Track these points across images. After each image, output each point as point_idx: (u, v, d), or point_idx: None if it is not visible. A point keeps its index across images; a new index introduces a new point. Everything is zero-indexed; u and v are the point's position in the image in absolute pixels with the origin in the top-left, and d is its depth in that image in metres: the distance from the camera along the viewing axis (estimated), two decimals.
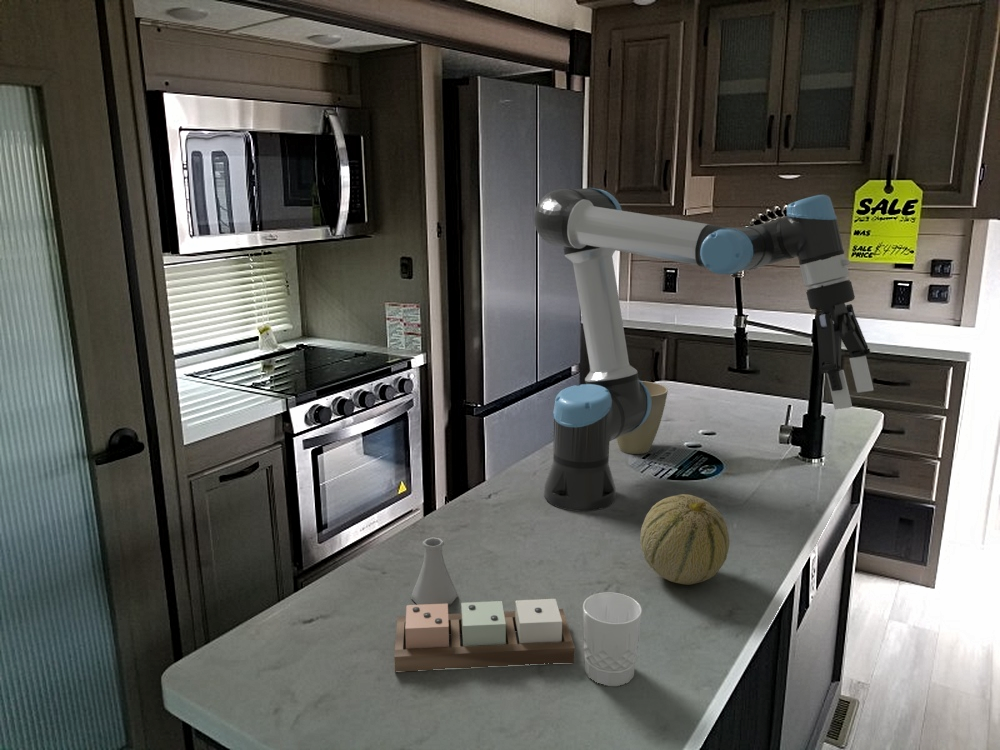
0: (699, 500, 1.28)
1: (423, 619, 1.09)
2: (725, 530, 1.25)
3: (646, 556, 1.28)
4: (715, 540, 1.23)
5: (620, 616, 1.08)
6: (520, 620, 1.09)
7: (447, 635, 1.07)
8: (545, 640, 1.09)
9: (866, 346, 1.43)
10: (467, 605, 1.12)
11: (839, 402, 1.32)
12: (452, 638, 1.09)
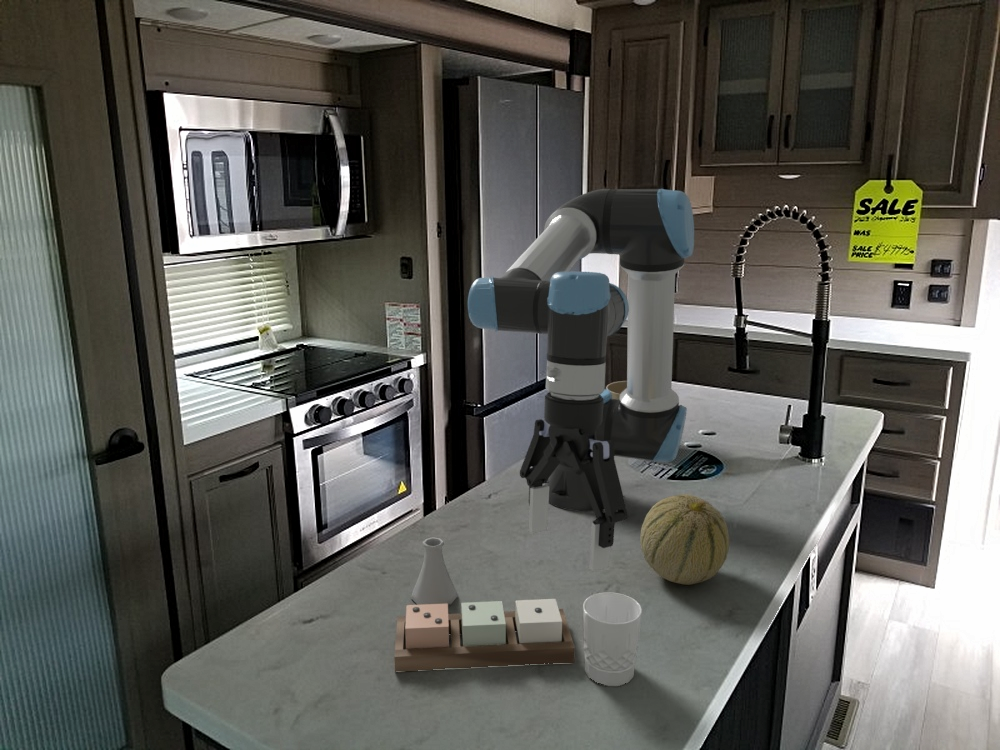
0: (699, 500, 1.28)
1: (423, 619, 1.09)
2: (725, 530, 1.25)
3: (646, 556, 1.28)
4: (715, 540, 1.23)
5: (620, 616, 1.08)
6: (520, 620, 1.09)
7: (447, 635, 1.07)
8: (545, 640, 1.09)
9: (607, 517, 0.93)
10: (467, 605, 1.12)
11: None
12: (452, 638, 1.09)
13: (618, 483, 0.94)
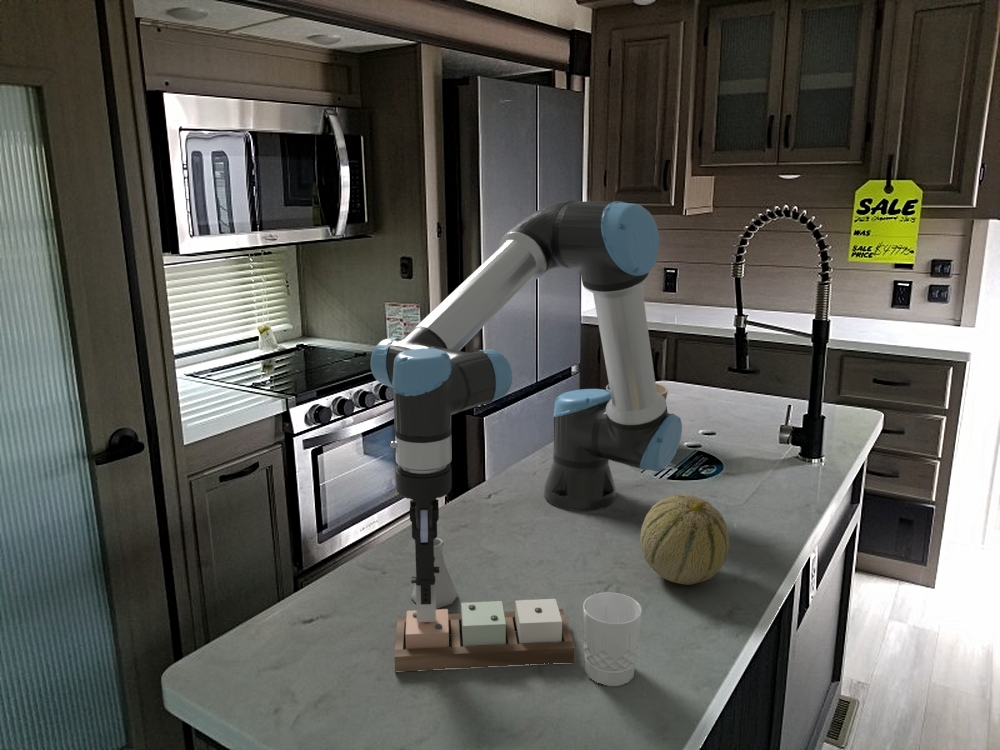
0: (699, 500, 1.28)
1: (423, 625, 1.09)
2: (725, 530, 1.25)
3: (646, 556, 1.28)
4: (715, 540, 1.23)
5: (620, 616, 1.08)
6: (520, 620, 1.09)
7: (447, 641, 1.08)
8: (545, 640, 1.09)
9: (416, 578, 1.05)
10: (467, 605, 1.12)
11: None
12: (452, 638, 1.09)
13: (432, 561, 1.03)
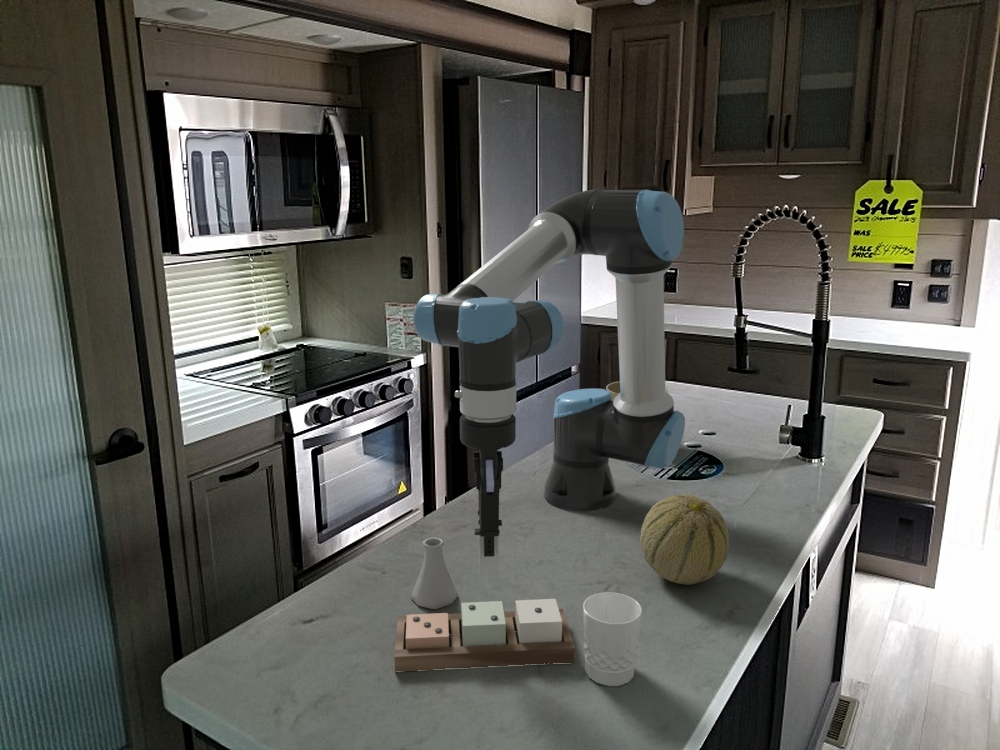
0: (699, 500, 1.28)
1: (423, 629, 1.09)
2: (725, 530, 1.25)
3: (646, 556, 1.28)
4: (715, 540, 1.23)
5: (620, 616, 1.08)
6: (520, 620, 1.09)
7: (447, 645, 1.08)
8: (545, 640, 1.09)
9: (480, 529, 1.04)
10: (467, 605, 1.12)
11: None
12: (452, 638, 1.09)
13: (497, 511, 1.02)
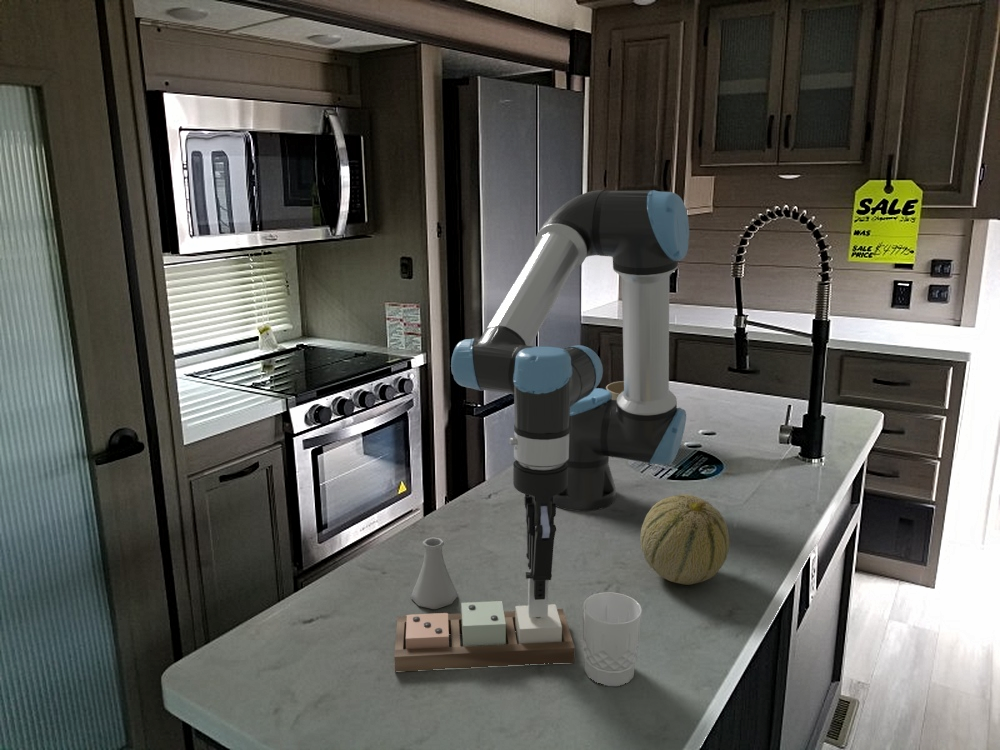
0: (699, 500, 1.28)
1: (423, 629, 1.09)
2: (725, 530, 1.25)
3: (646, 556, 1.28)
4: (715, 540, 1.23)
5: (620, 616, 1.08)
6: (520, 626, 1.09)
7: (447, 645, 1.08)
8: None
9: (532, 574, 1.06)
10: (467, 605, 1.12)
11: None
12: (452, 638, 1.09)
13: (551, 556, 1.04)
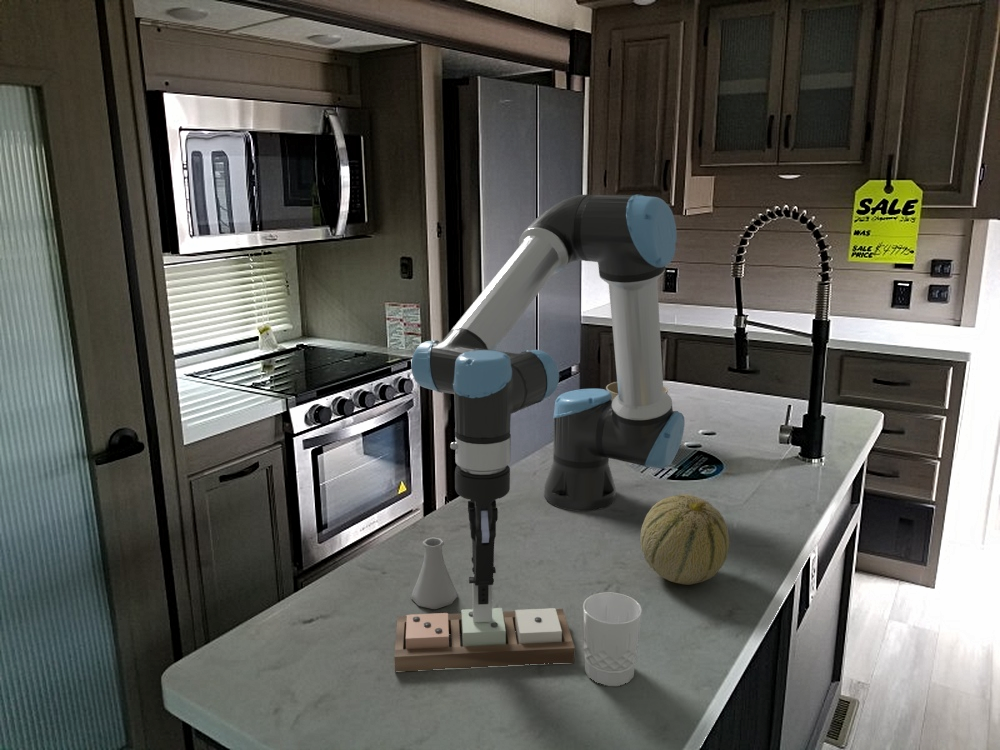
0: (699, 500, 1.28)
1: (423, 629, 1.09)
2: (725, 530, 1.25)
3: (646, 556, 1.28)
4: (715, 540, 1.23)
5: (620, 616, 1.08)
6: (520, 630, 1.09)
7: (447, 645, 1.08)
8: None
9: (474, 578, 1.06)
10: (467, 612, 1.13)
11: None
12: (452, 638, 1.09)
13: (492, 561, 1.03)
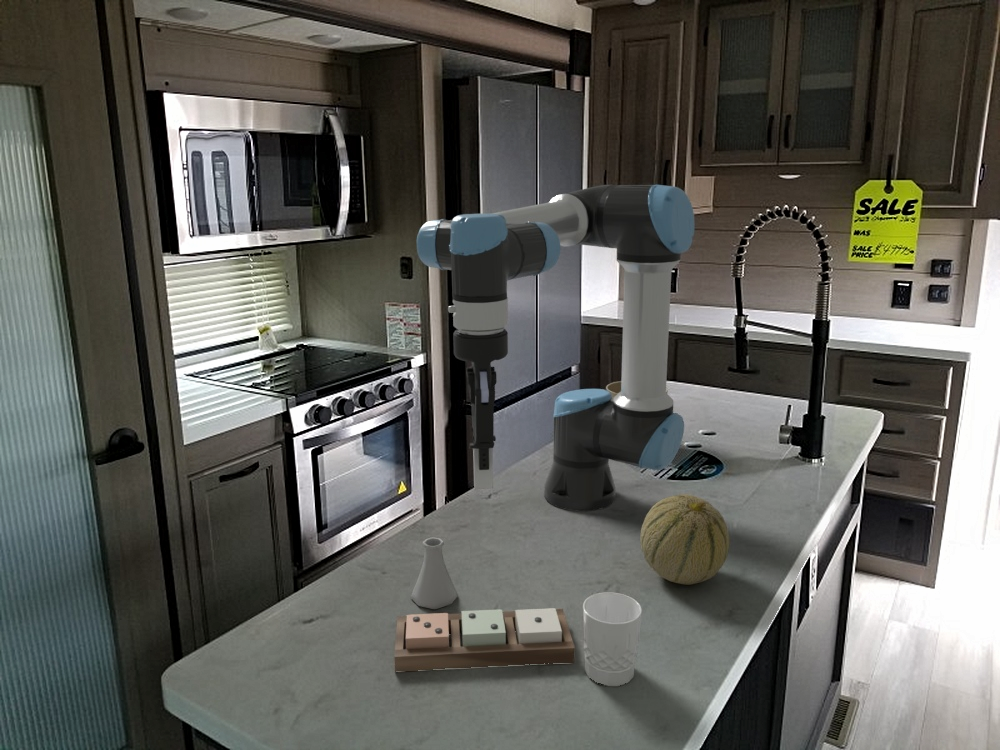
0: (699, 500, 1.28)
1: (423, 629, 1.09)
2: (725, 530, 1.25)
3: (646, 556, 1.28)
4: (715, 540, 1.23)
5: (620, 616, 1.08)
6: (520, 630, 1.09)
7: (447, 645, 1.08)
8: None
9: (475, 442, 1.07)
10: (467, 613, 1.13)
11: None
12: (452, 638, 1.09)
13: (492, 422, 1.05)
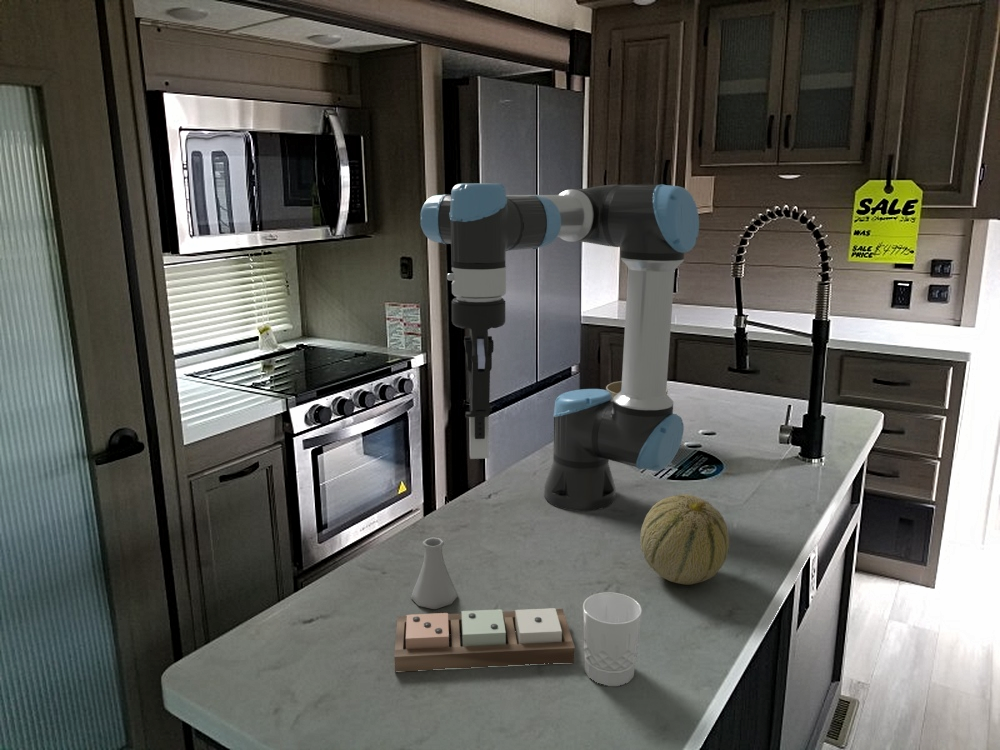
0: (699, 500, 1.28)
1: (423, 629, 1.09)
2: (725, 530, 1.25)
3: (646, 556, 1.28)
4: (715, 540, 1.23)
5: (620, 616, 1.08)
6: (520, 630, 1.09)
7: (447, 645, 1.08)
8: None
9: (471, 410, 1.08)
10: (467, 613, 1.13)
11: None
12: (452, 638, 1.09)
13: (488, 389, 1.06)
